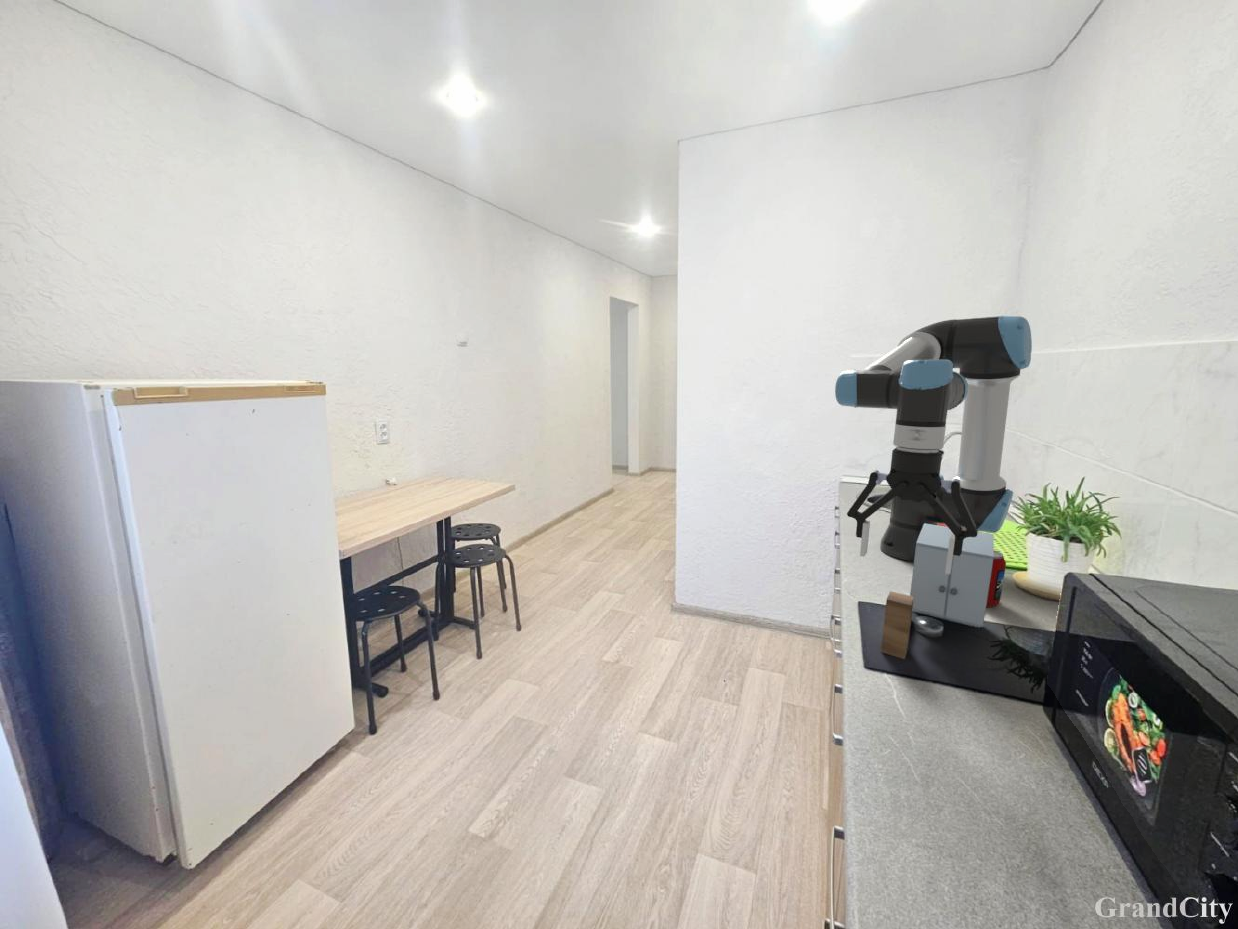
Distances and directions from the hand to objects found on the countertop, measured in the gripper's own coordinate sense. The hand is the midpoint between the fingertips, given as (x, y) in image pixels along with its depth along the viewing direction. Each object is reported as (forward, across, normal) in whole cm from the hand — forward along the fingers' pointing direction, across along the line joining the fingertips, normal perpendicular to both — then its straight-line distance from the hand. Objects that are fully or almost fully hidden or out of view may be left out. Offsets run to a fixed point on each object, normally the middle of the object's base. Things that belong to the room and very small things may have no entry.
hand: (903, 562), depth 90 cm
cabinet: (+18, +7, +14) cm, 24 cm away
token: (+18, +5, +12) cm, 23 cm away
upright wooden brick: (+18, 0, +7) cm, 19 cm away
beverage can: (+18, +13, +34) cm, 40 cm away
